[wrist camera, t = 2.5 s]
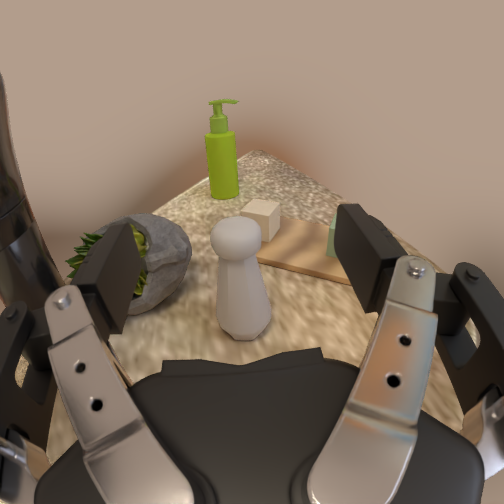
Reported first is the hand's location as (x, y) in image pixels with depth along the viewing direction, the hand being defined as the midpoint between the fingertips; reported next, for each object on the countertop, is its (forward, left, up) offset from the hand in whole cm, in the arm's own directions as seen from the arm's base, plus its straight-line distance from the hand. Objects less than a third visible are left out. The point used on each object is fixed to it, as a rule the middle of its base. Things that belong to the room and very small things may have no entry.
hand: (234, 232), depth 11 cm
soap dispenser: (-25, +40, -19) cm, 51 cm away
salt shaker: (-6, +10, -19) cm, 22 cm away
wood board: (-5, +27, -19) cm, 33 cm away
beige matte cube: (-11, +27, -18) cm, 34 cm away
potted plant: (-20, +8, -19) cm, 29 cm away
